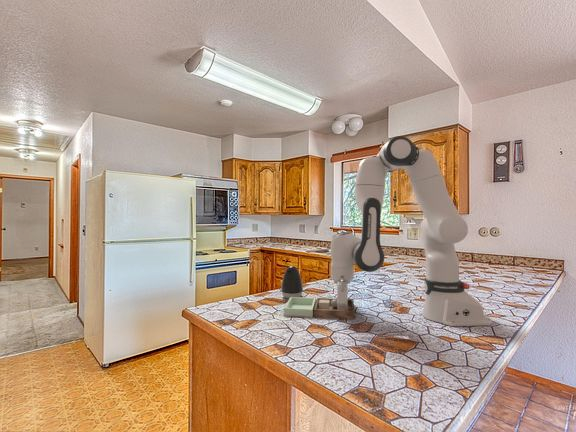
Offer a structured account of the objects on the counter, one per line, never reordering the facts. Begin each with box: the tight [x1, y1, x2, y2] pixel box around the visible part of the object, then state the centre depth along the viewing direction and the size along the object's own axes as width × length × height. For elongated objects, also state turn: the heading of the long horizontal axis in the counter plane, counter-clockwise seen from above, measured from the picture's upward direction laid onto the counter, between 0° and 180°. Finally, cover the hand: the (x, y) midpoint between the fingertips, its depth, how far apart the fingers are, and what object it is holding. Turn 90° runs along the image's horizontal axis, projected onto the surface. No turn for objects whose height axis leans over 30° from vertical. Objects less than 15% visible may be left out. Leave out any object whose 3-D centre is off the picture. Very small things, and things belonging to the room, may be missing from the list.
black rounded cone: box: [280, 265, 304, 300], centre depth 140 cm, size 10×10×15 cm
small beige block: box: [337, 303, 348, 311], centre depth 117 cm, size 4×4×4 cm
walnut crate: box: [313, 297, 356, 320], centre depth 119 cm, size 15×16×4 cm
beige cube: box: [319, 300, 330, 310], centre depth 118 cm, size 4×4×4 cm
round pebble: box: [331, 298, 337, 308], centre depth 123 cm, size 3×3×3 cm
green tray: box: [283, 296, 317, 318], centre depth 121 cm, size 11×16×4 cm
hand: (342, 309), depth 117 cm, fingers closed on small beige block, 4 cm apart
